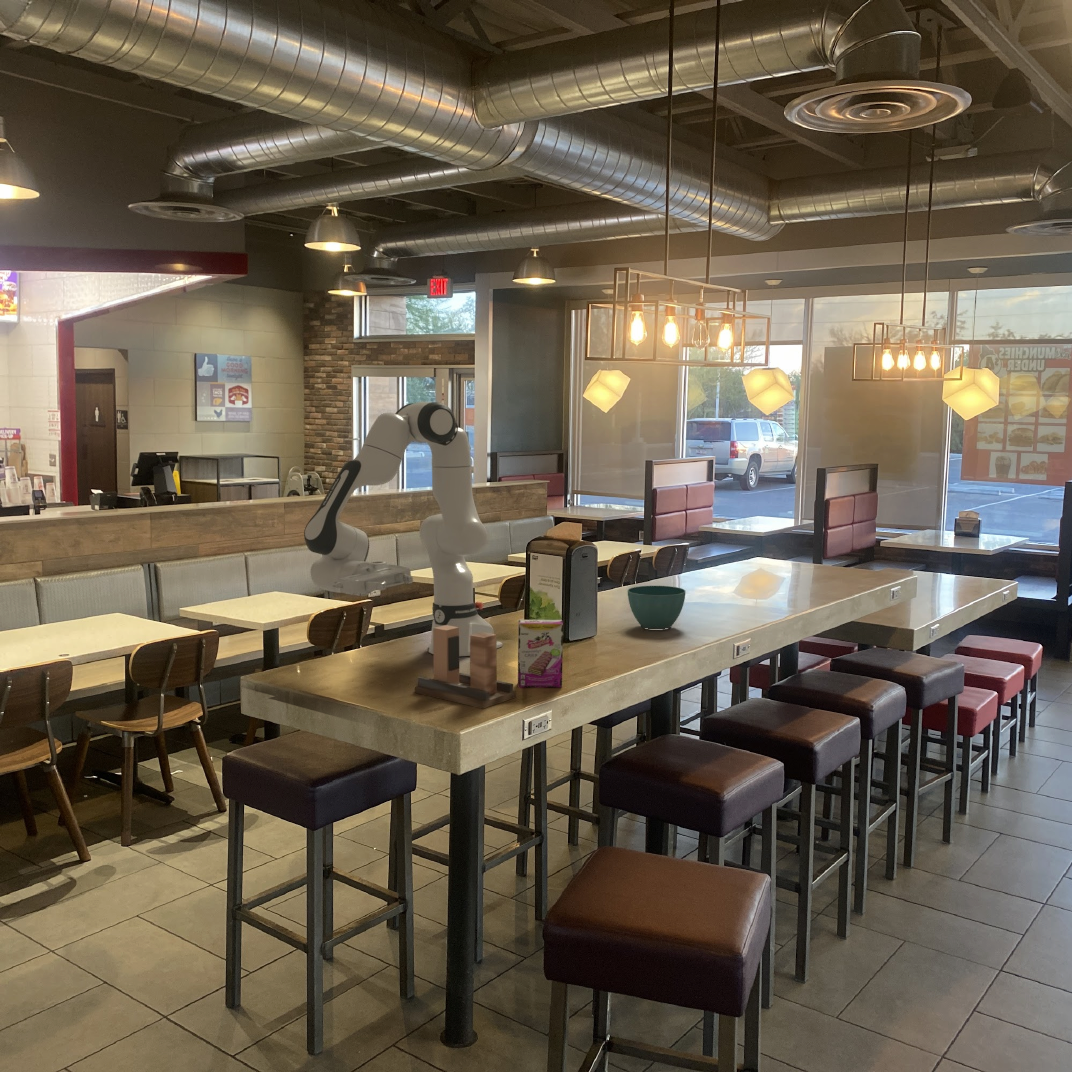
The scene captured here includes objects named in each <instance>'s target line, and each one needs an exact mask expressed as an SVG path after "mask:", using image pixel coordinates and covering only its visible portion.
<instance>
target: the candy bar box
mask: <svg viewBox="0 0 1072 1072" xmlns="http://www.w3.org/2000/svg"><path fill="white" fill-rule="evenodd" d="M563 622H564V621H563V620H562V619H518V623H517V625H518V628H517V630H518V633H517V635H518V637H517V640H518V641H517V687H518V688H563V661H564V660H563V653H564V652H563V651H564V650H563V649H564V648H563V647H564V646H563V645H564V643H563V642H564V624H563Z"/></svg>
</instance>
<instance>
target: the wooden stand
mask: <svg viewBox="0 0 1072 1072" xmlns="http://www.w3.org/2000/svg"><path fill="white" fill-rule="evenodd" d="M497 635H498V634H495V633H494V634H490V633H484V632H481V633H477V634H473V635H470V656H469V666H470V667H469V674H467V673H463V672H459V684H453V683H448V682H444V681H439V680H434V678H430V677H424V676H418V677H417V685H415V686H414V693H415V694H419V695H423V696H428V697H431V698H437V699H441V700H446V701H449V702H452V703H453V702H454V703H457V704H463V705H467V706H471V707H474V708H479V709H486V708H488V707H492V706H496V705H497V704H500V703H503V702H506V701H509V700H513V699H514V698H517V690H514V684H513V683H509V682H505V681H501V680H498V679H497V677H498V676H497V675H498V670H497V669H498V668H497V667H498V665H497V664H498V662H497V661H498V660H497V656H498V654H497V652H498V651H497V649H498V648H497V641H498V640H497V639H498V638H497V637H498V636H497Z"/></svg>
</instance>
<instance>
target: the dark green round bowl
mask: <svg viewBox="0 0 1072 1072" xmlns="http://www.w3.org/2000/svg"><path fill="white" fill-rule="evenodd" d="M627 598H628V605H629V606H630V609H631V612H632V615H633V616H634V618H635V619H636V621H637V622H638V624H639V625H640V627H642V629H644V628H648V629H665V628H669V629H671V628H672V627H673V625H674V623H675V622H677V620H678V618H679V616H680V615H681V613H682V609H683V607H684V604H685V600H686V590H685V589H683V588H682V587H677V586H672V585H671V586H670V585H640V586H639V585H638V586H633V587H630V588H628V589H627Z"/></svg>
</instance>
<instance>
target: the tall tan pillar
mask: <svg viewBox="0 0 1072 1072" xmlns="http://www.w3.org/2000/svg"><path fill="white" fill-rule="evenodd" d="M432 656H433V679H434V680H439V681H444V682H448V683H453V684H459V673H460V656H459V627H454V626H448V625H444V626H440V627H435V628H433V654H432Z"/></svg>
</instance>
